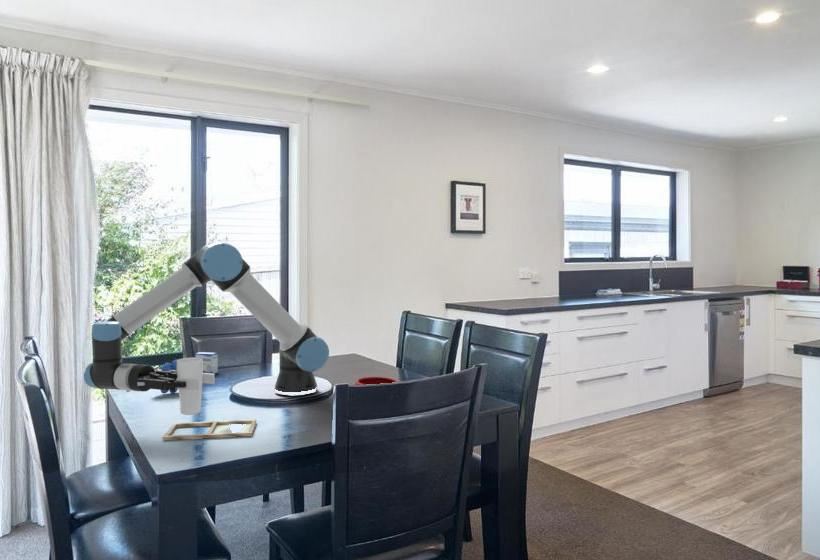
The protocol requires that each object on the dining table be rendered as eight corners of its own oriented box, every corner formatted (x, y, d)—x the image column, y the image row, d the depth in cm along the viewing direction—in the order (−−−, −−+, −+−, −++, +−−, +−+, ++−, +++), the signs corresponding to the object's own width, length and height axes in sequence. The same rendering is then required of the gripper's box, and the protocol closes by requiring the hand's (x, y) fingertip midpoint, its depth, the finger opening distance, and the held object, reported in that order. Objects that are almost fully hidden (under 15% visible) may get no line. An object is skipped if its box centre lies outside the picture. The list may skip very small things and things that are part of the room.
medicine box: (195, 374, 238) (194, 353, 238) (200, 371, 243) (200, 351, 242) (212, 374, 237) (212, 353, 237) (218, 372, 242) (217, 352, 241)
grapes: (186, 388, 212) (186, 356, 211) (191, 392, 206) (190, 359, 206) (152, 393, 205) (152, 359, 204) (156, 396, 199) (156, 362, 199)
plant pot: (363, 428, 163) (363, 386, 163) (349, 416, 175) (349, 377, 175) (405, 423, 169) (405, 382, 168) (389, 411, 181) (389, 374, 180)
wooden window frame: (256, 422, 168) (256, 419, 168) (251, 436, 156) (251, 432, 156) (174, 426, 164) (174, 423, 164) (162, 440, 152) (162, 437, 152)
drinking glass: (209, 410, 161) (207, 358, 160) (192, 417, 154) (191, 362, 154) (189, 408, 163) (188, 356, 162) (172, 415, 157) (170, 361, 156)
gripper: (159, 383, 173) (226, 387, 167) (110, 398, 154) (183, 404, 148) (159, 358, 172) (226, 361, 166) (109, 371, 154) (182, 375, 147)
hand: (205, 381), depth 157 cm, fingers closed on drinking glass, 7 cm apart
